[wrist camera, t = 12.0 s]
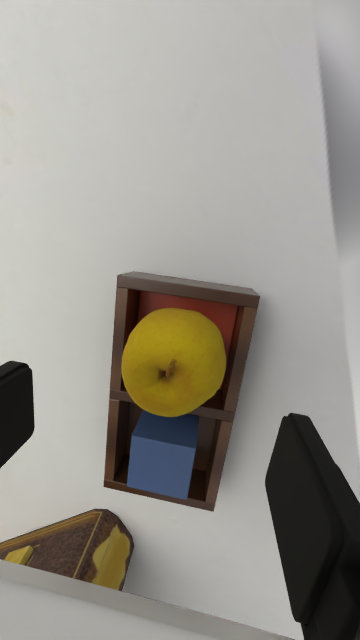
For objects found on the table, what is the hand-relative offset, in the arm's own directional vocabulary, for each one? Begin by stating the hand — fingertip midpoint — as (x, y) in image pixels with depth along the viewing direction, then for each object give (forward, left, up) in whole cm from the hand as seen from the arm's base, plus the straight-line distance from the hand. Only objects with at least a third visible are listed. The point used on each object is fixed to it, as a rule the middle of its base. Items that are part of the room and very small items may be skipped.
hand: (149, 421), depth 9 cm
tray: (0, +5, -12) cm, 12 cm away
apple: (0, 0, -11) cm, 11 cm away
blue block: (0, +9, -11) cm, 14 cm away
